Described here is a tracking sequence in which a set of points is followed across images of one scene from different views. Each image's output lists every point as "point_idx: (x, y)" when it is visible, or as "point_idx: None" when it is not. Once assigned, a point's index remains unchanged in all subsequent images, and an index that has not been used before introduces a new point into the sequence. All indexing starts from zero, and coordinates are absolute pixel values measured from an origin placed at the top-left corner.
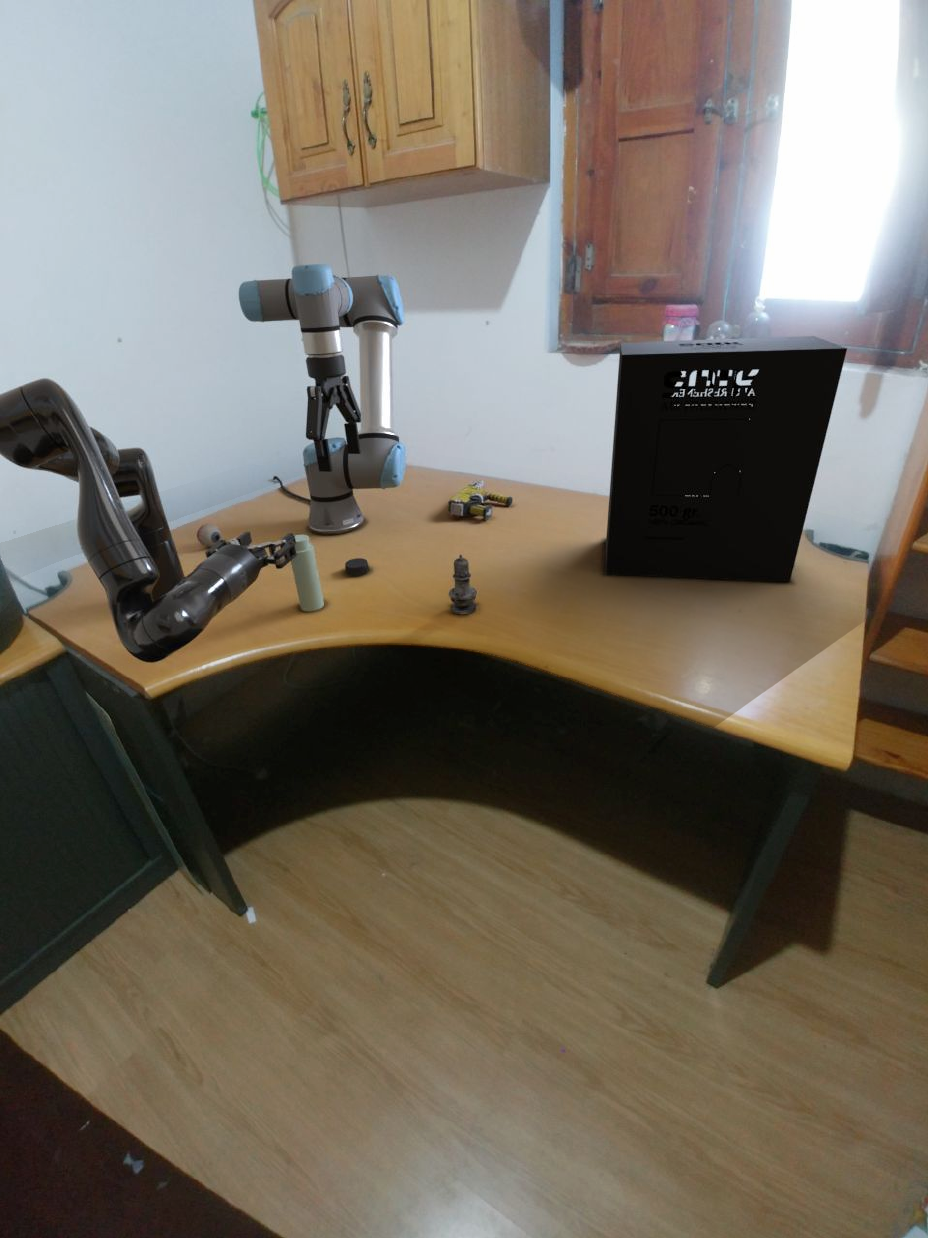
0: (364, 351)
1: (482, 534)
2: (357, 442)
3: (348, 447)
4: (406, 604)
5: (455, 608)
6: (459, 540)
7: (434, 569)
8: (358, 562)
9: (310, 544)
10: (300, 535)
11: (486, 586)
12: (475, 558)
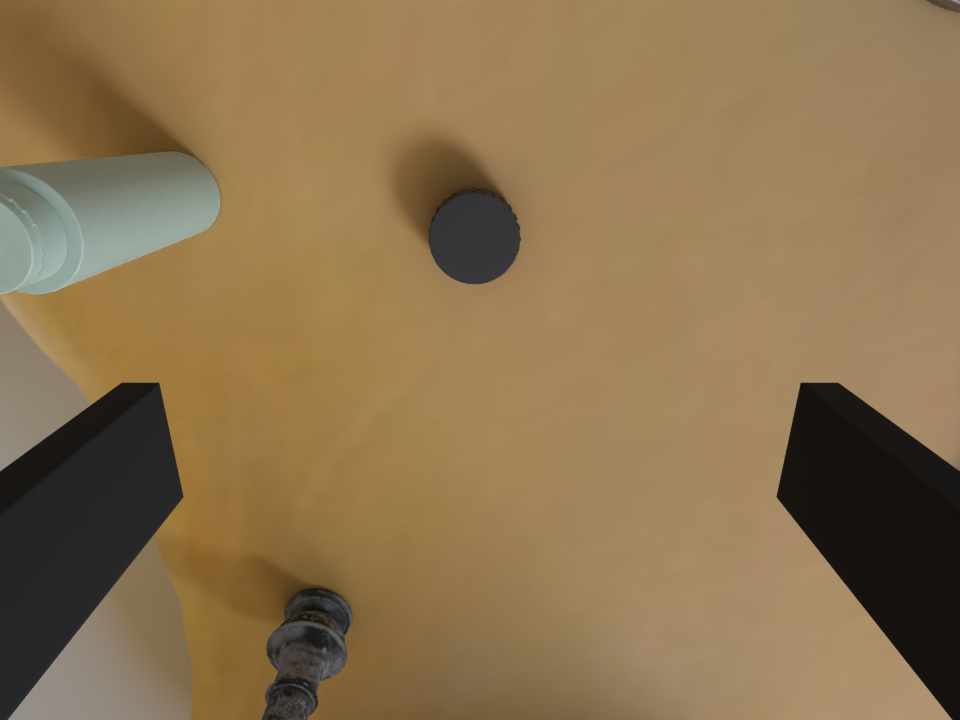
0: None
1: None
2: (840, 577)
3: (837, 424)
4: (295, 478)
5: (296, 607)
6: None
7: (538, 481)
8: (478, 248)
9: (71, 266)
10: (12, 232)
11: (455, 632)
12: (635, 569)
